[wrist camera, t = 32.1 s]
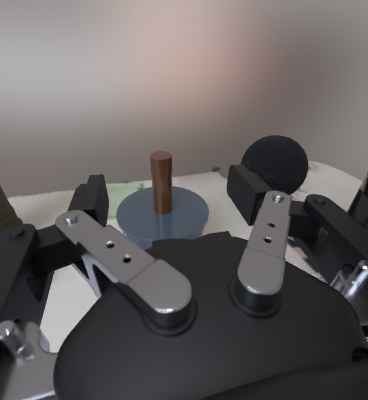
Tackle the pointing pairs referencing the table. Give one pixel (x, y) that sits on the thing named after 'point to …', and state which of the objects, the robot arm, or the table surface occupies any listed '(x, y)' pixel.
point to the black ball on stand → (277, 163)
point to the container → (7, 214)
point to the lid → (162, 207)
